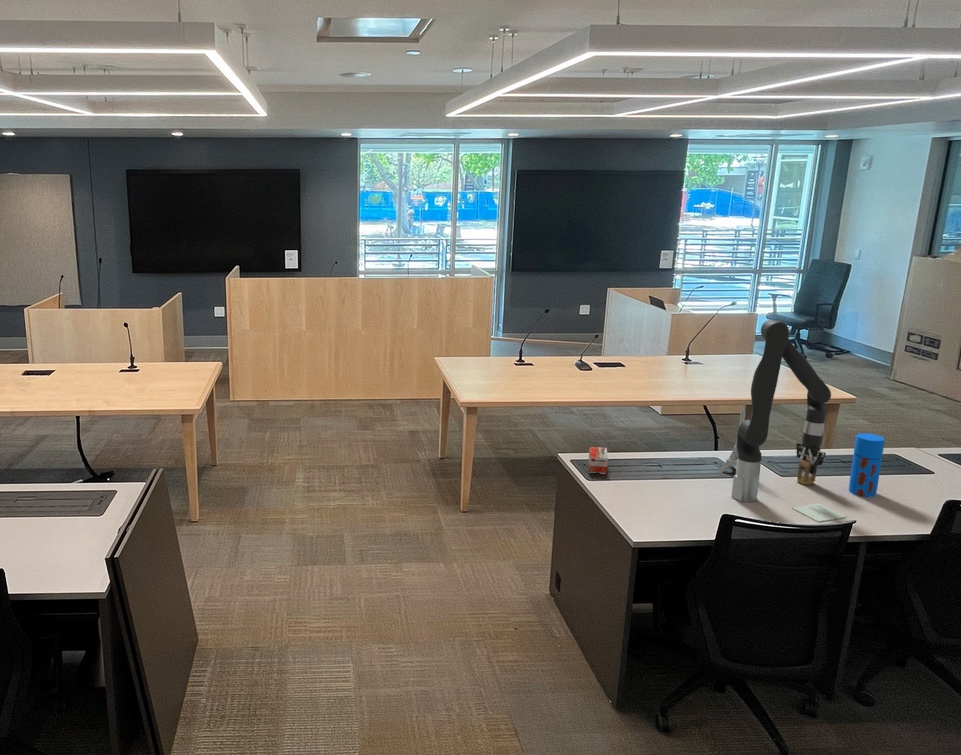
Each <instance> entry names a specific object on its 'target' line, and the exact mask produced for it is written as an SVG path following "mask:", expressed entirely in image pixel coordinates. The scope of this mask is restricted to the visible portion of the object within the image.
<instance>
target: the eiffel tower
mask: <svg viewBox="0 0 961 755" xmlns="http://www.w3.org/2000/svg"><path fill="white" fill-rule="evenodd" d="M746 416H747V415H746V412H745V408H742V410H741V412H740V415H739V417H740V420H739V425H738V427H739V426H740V425H741V423H742V422H743V421H745V420H746V419H745V418H746ZM737 459H738V452H737V439H736V441H735V445H733V449H732V452H731V454H730V456H729V457H728V458H726V459H725V462H724V463H723V464H722V466H720V468H719V469H718V470H717V471H716V473H719V474H724V473H725V472H726V469H727V468H728V467H729V468H734V467H736V468H737ZM723 472H724V473H723Z"/></svg>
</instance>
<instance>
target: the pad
mask: <svg viewBox="0 0 961 755" xmlns="http://www.w3.org/2000/svg"><path fill="white" fill-rule="evenodd" d="M791 509H792V510H794V511H796V512H797V513H800V514H802V515H804V516H805V517H808V518H809V519H811V520H813V521H815V522H817V523H822V522H829V521H835V520H839V519H841V520H842V519H846V518H847V516H846V515H843V514H842V513H840V512H838V511H835V510H833V509H831V508H830V507H827V506H825V505H824V504H821V503H813V504H812V503H811V504H806V505H800V506H799V505H798V506H795V507H794V506H793V507H792V508H791Z"/></svg>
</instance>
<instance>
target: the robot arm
mask: <svg viewBox="0 0 961 755" xmlns="http://www.w3.org/2000/svg"><path fill="white" fill-rule="evenodd" d="M760 333H761V336H762V338H763V339H764V340H765V342H764V349H763V355H762V357H761V360H760V361H759V363H758V365H757V367H756V369H755V371H754V374H753V378H752V381H751V387H750V396H751V398H750V399H751V406H752V407H751V408H752V409H751V416H750V419H744V421H743V422H742V423H741V425H740V424H739V425H740V426H739V425H738V429H737V435H736V440H737V452H738V459H737V467H736V470H735V474H734V475H733V479H732V480H733V481H732V487H731V498H734V499H736V500H737V501H738V502H745V503H754V502H756V501H757V500H758V498H757V497H758V491H759V482H760V476H761V474H760V473H761V465H762V458H763V457H762V455H763V454H762V452H761V450H760V446H762V445H763V444H764V443H765V442H766V441H767V438H768V434H769V425H770V417H771V411H772V406H773V401H774V397H775V393H776V390H777V384H778V381H779V380H778V379H779V375H780V371H781V370H780V369H781V366H782V365H781V363H782V360H784V362H785V364H787V367H788V368H789V369H790V370H791V372H792V373H793V375H794V376H795V377H796V379H797V380H798V381H799V383H800V384H802V385H803V386H804V388H806V390H807V393H806V394H807V395H806V403H807V404H806V406H807V411H806V417H805V422H804V425H803V430H802V431H803V432H802V437H801V442H797V443H796V444H795V445H796V447H795V448H796V458H798V459H799V460H804V459H807V457H808V456H809V457H810V460H811V469H810V474H815V473H816V474H817V471H816V468H817V469H818V467H819V466H822V464H823V462H824V460H825V457H826V452H823V451H821V445H822V444H823V438H824V431H825V420H826V415H827V414H826V413H827V411H826V408H825V404H826V403H828V402H829V401H830V399H831V398H832V392H831V389H830V388H829V387H828V386H827V384H826V383H825V382H824V380H822V379H821V378H820V377H819V375H818V373H817V372H816V370H815V369H814V368H813V366H812V365H811V363H809V361H808V360H807V359H806V358H805V357H804V356H803V354H802V353H801V352H800V351H799V350H798V349H797V348H796V347H795V345H794V344H793V342H792V341H791V340H790V338H789V337H790V328H789V327H788V325H787V324H786V323H785V322H783V321H780V320H779V319H773V318H772V319H768V320H766V321H765V322H764V321H763V324H762V325H761V328H760ZM802 442H803V443H802ZM813 457H815V458H813ZM814 460H815V462H814ZM817 466H818V467H817ZM802 469H805V468H802Z"/></svg>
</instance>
